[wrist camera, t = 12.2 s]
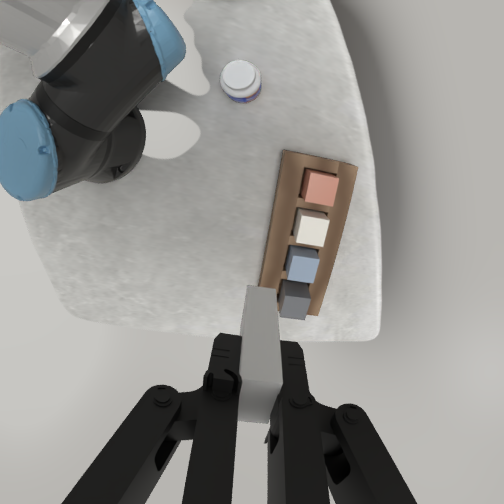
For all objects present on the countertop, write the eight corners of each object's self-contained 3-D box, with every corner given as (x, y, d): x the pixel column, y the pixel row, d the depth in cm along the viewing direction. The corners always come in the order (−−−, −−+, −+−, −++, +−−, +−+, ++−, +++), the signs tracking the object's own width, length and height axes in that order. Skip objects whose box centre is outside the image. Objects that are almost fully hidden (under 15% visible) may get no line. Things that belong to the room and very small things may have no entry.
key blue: (285, 265, 48) (287, 279, 43) (289, 242, 46) (293, 255, 42) (308, 268, 48) (313, 283, 43) (314, 246, 46) (319, 259, 42)
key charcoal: (278, 299, 49) (279, 317, 44) (283, 279, 48) (285, 295, 43) (301, 302, 49) (304, 320, 45) (306, 282, 48) (311, 298, 43)
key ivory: (292, 230, 46) (296, 242, 41) (297, 206, 44) (301, 215, 39) (317, 235, 46) (323, 246, 41) (322, 210, 44) (329, 220, 39)
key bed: (256, 295, 53) (255, 308, 49) (283, 149, 43) (285, 151, 39) (314, 303, 53) (317, 315, 50) (350, 164, 43) (358, 167, 40)
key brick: (300, 193, 43) (304, 201, 39) (305, 168, 42) (310, 172, 37) (325, 198, 43) (332, 206, 39) (330, 173, 42) (339, 178, 37)
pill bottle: (252, 108, 40) (250, 101, 32) (220, 95, 40) (209, 86, 31) (267, 78, 38) (268, 64, 30) (234, 65, 38) (227, 49, 29)
